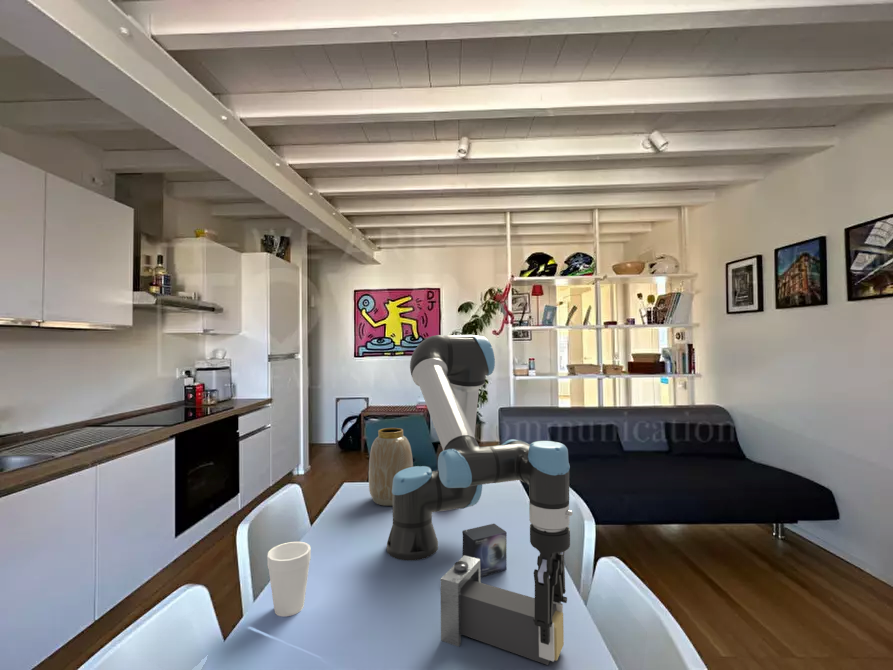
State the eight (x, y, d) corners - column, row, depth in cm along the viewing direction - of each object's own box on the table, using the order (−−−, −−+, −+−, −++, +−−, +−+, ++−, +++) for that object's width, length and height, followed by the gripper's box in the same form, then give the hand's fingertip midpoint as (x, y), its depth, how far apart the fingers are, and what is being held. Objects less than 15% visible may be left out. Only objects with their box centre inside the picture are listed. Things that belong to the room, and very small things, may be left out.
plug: (452, 631, 90) (452, 592, 90) (465, 615, 95) (465, 578, 95) (556, 668, 79) (555, 623, 79) (564, 647, 85) (563, 606, 85)
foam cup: (284, 626, 93) (285, 565, 93) (258, 612, 98) (258, 554, 98) (319, 603, 101) (319, 547, 101) (293, 592, 106) (293, 538, 106)
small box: (473, 581, 110) (473, 539, 110) (461, 569, 116) (460, 530, 116) (508, 571, 115) (507, 531, 115) (494, 560, 121) (493, 522, 121)
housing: (441, 640, 88) (440, 574, 88) (464, 611, 98) (464, 551, 98) (458, 647, 86) (458, 579, 86) (480, 616, 96) (480, 555, 96)
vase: (411, 508, 160) (410, 434, 160) (364, 508, 160) (364, 434, 161) (415, 492, 177) (414, 425, 178) (373, 492, 177) (372, 426, 178)
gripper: (556, 549, 73) (558, 688, 73) (579, 511, 90) (581, 624, 89) (514, 540, 77) (516, 673, 76) (544, 505, 93) (545, 613, 93)
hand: (551, 646), depth 83 cm, fingers closed on plug, 6 cm apart
